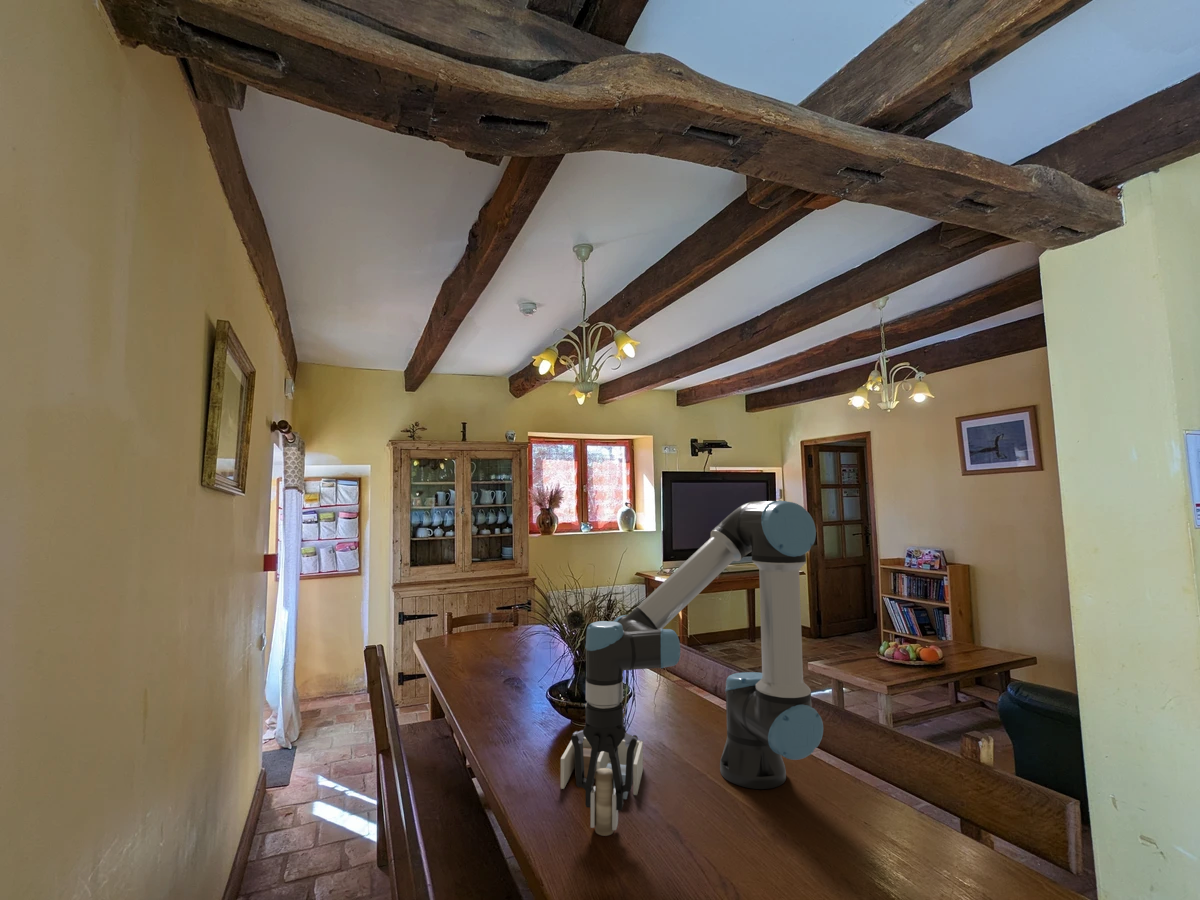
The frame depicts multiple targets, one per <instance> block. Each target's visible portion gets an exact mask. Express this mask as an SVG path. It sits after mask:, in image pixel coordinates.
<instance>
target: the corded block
mask: <svg viewBox="0 0 1200 900" xmlns="http://www.w3.org/2000/svg"><path fill="white" fill-rule="evenodd" d="M620 767H621V773H622V779H623V782H625V776H626V765H621V764H620ZM594 783H595V785H594V786H595V827H594V829H595V833H596V834H597V835H599V836H601V837H602V836H603V837H604V836H605V837H606V836H607V837H608V836H610V835H612V834H613V833H614V831H615V830H612V793H613V791H614V788H615V784H614V778H613V772H612V766H611V764H609V763H608V764H607V767H606V768H600V769H598V770H596V772H595V779H594ZM628 796H629V792H627V791H626V792H624V793H623V800H627V799H628Z"/></svg>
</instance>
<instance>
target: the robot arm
mask: <svg viewBox="0 0 1200 900" xmlns="http://www.w3.org/2000/svg"><path fill="white" fill-rule="evenodd" d="M816 535H817V530H816V524H815V521H814V519H813V517H812V516H811V514H810V513H809V512H808V511H807V510H806V509H805V508H804V506H802V505H800V504H799V503H796V502H793V501H787V500H781V499H779V500H768V501H767V500H763V501H762V500H753V501H749V502H747V503H744V504H742V505H740V506H739V507H737V508H736V509H734V510H733V511H732V512H731V513H729V514H728V515H727V516H726V517H725V518H724V519H722V520H721V522H719V523H718V524H717V525H716V526H715V527H714V528H713V529H712V530H711V531H710V537H709V539H708V540H707V541H705V542H704V544H702V545H701V546H700V547H699V548H698V549H697V550H696V551H695V552H694V553H692V555H690V556H689V557H688V559H686V560H685V561H684V562H683V563H682V564H681V565H680V566H679V567H678V568H677V569H676V570H675V571H674V572H673V573H671V575H669V577H667V578H666V579H665V580H664V581H662V583H661V584H660V585H659V586H658V587H657V588H656V589H654V590H653V591H652V593H650V594H649V595H648V596H647V597H646V598H645V599H644V600H643V601H642V602H641V603H640V604H639V605H637V607H635V608H634V609H633V610H632V611H631V612H630V613H628V614H624V615H620V616H618V617H616V618H615V619H614V620H612V621H609V620H608V621H607V620H600V621H599V620H598V621H594V622H592V623H590V624H588V626H587V627H586V635H585V646H584V647H585V672H586V673H585V701H586V703H585V704H586V708H585V725H584V727H583V729H581V730H579V731H578V730H575V731H573V733H572V735H571V737H570V741H571V740H572V743H573V746H574V751H575V768H574V770H576V777H575V784H576V787H577V788H583V790H584V791H585V807H586V808H589V809H590V829H591V828H592V829H595V785H594V783H595V779H594V777H595V771H596V766H597V760H598V754H599V752H602V751H604V752H607V753H609V758H610V760H611V766H612V772H613V778H614V784H615V788H614V791H613V793H612V830H614V831H617V828H618V825H619V811H622V810H623V808H624V807H623V806H624V799H623V793H624V792H626V791H627V792H628V793H629V792H631V790H632V788H633V765H634V749H635V746H636V744H637V741H639V738H638V735H636V734H633V735H631V734H629V733H628V732H626V730H627V729H625V726H624V719H623V713H624V709H623V707H624V704H623V700H624V671H633V670H634V671H635V670H649V669H664V668H668V667H675V666H676V665H677V664H678V663H679V661H680V658H681V642H680V639H679V636H678V634H677V633H676V631H675V630H673V629H670V628H665V627H666V626H667V625H668V624H669V623H670V622H671V621H672V620H673V619H674V618H675V617H676V616H678V614H679V613H680V612H681V611H683V610H684V608H686V607H687V605H689V604H690V603H691V602H692V601H693V600H694V599H695V598H696V597H697V596H698V595H699V594H700V593H701V592H702V591H703V590H704V589H705V588H707V586H709V585H710V584H711V583H712V582H713V581H714V580H715V579H716V578H718V576H719V575H720V574H721V573H722V572H723V571H725V569H726V568H727V567H728V566H729V565H730V564H732V562H740V561H741V560H742V559H743V558H744V557H746V556H747V555H748V554H750V553H751V562H752V563H753V564H754V565H755V566H756V567H757V569H758V570H759V572H758V574H759V606H760V607H759V608H760V611H759V612H760V641H761V642H760V644H761V672H756V671H755V672H754V671H751V672H750V671H748V672H747V671H746V672H745V671H744V672H743V671H742V672H737V673H733V674H730V675H728V676H727V678H726V679H725V680H726V681H725V690H724V691H725V704H726V706H725V707H726V710H725V711H726V715H725V716H726V741H725V744H724V746H723V750H722V753H721V757H720V762H719V771H720V774H721V776H722V777H723V778H724V779H725V780H726V781H728V782H730V783H732V784H733V785H737V786H739V787H743V788H747V789H754V790H767V789H768V790H769V789H774V788H778V787H780V786H781V785H783V784H784V783H785V781H786V779H787V771H786V765H785V763H784V760H783V758H785V759H787V760H792V761H797V760H803V759H805V758H807V757H809V756H810V755H811V754H812V755H813V753H814V750H815V749H817V748H818V747H819V745H820V743H821V742H822V739H823V735H824V722H823V719H822V717H821V715H820V714H819V713H818V711H817V709H815V708H814V707H812V706H813V705H812V691H811V687H810V686H808V684H806V683H805V681H804V670H803V668H804V665H803V664H804V663H803V638H802V637H803V636H802V613H801V611H802V610H801V607H802V606H801V584H800V583H801V582H800V581H801V580H800V570H801V568H802V567H803V566H804V565H805V564H806V563H807V553H808V552H809V551H810V550H811V549H812V548H811V547H812V546H814V543H815V541H816V538H817V537H816ZM584 737H586V739H587V741H588V742H589V744H590V745H591V747H592V749H591V757H590V763H589V768H588V774H587V778H585V775H584V756H583V741H584ZM622 740H625V745H626V747H628V749H627V757H626V776H625V782H623V779H622V773H621V767H620V761H619V756H618V746H619V744H620V743H621V742H622Z"/></svg>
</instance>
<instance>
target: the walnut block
mask: <svg viewBox="0 0 1200 900" xmlns="http://www.w3.org/2000/svg"><path fill="white" fill-rule="evenodd" d="M591 749H592V748H591V747H583V756H584V775H585V778H586V779H587V774H588V768H589V763H590V757H591ZM599 754H600V752H599ZM599 754H598V757H599ZM574 770H575V769H574ZM596 770H597V766H596ZM595 772H596V771H595ZM574 773H575V775H574V777H575V778H576V770H575V771H574ZM594 780H595V777H594Z"/></svg>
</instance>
